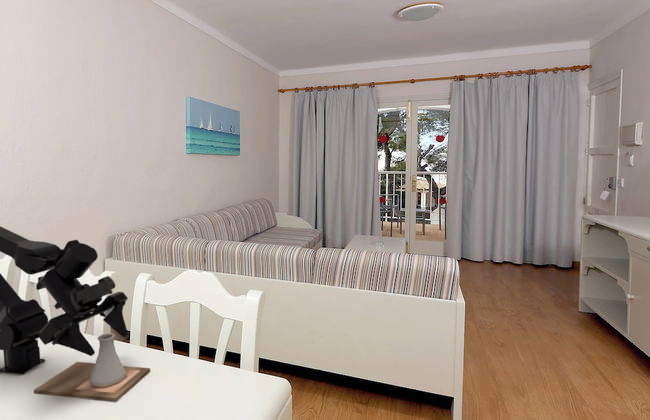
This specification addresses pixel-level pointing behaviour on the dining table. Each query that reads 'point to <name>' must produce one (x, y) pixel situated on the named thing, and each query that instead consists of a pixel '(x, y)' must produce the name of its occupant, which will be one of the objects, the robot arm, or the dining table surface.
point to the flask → (107, 364)
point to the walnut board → (78, 384)
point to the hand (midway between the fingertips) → (110, 344)
